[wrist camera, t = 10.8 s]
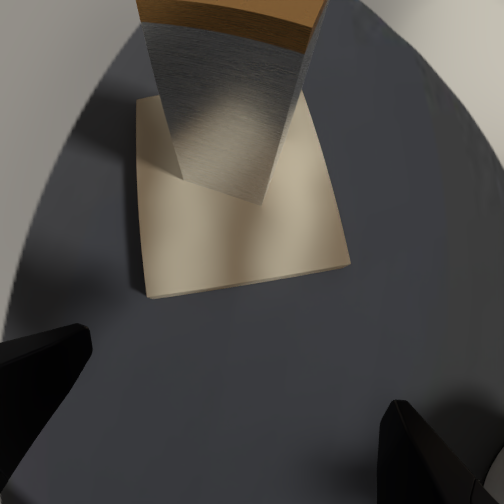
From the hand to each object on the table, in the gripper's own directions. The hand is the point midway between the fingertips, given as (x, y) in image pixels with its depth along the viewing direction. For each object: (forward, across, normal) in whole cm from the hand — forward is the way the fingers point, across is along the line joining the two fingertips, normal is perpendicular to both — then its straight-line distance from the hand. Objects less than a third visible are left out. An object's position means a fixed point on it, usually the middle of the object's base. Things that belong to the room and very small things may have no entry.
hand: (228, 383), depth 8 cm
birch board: (+14, +4, -4) cm, 15 cm away
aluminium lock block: (+13, +4, -5) cm, 15 cm away
